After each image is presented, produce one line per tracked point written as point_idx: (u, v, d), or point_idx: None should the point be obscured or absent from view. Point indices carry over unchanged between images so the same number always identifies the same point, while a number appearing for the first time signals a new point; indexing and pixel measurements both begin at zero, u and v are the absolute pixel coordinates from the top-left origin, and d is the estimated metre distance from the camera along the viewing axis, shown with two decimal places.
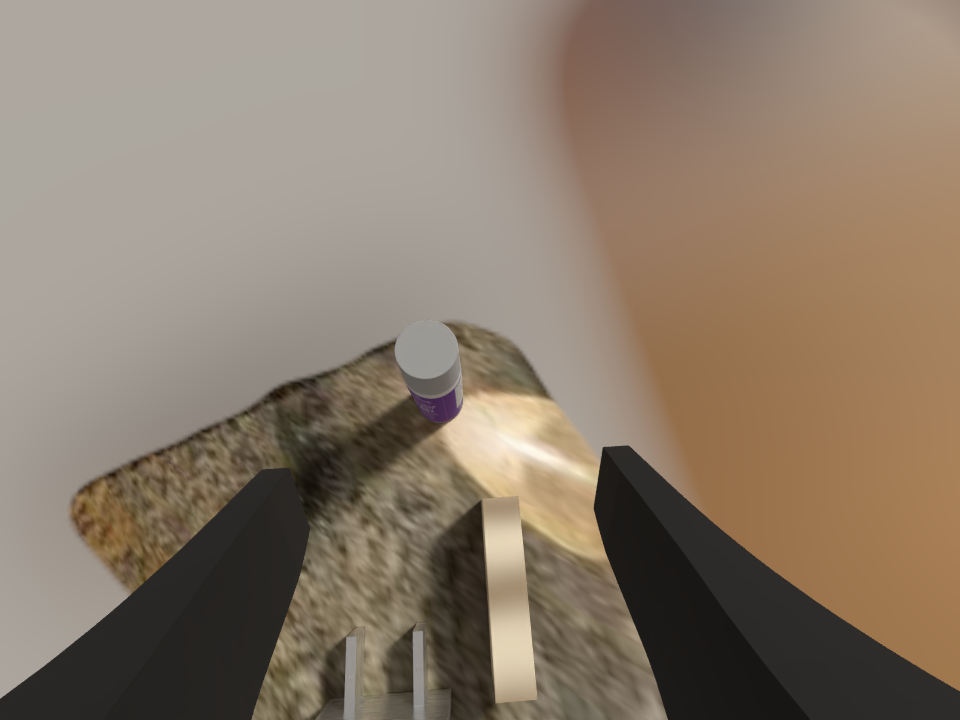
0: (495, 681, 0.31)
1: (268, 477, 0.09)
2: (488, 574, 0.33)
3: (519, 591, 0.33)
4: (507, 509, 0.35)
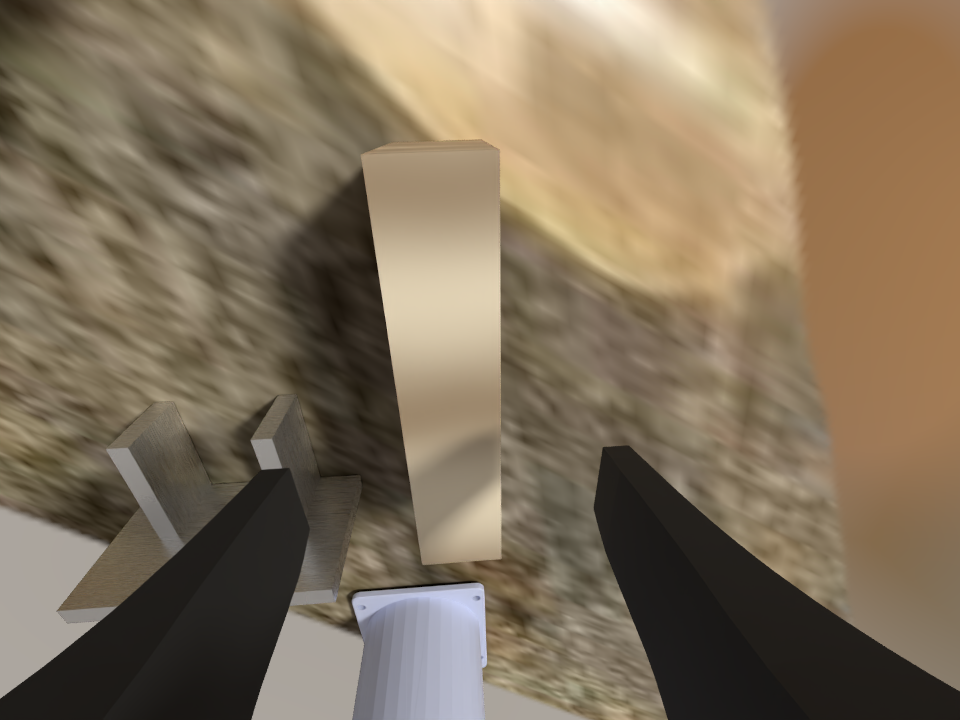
0: (421, 542, 0.15)
1: (268, 477, 0.09)
2: (397, 377, 0.12)
3: (479, 410, 0.13)
4: (458, 199, 0.10)
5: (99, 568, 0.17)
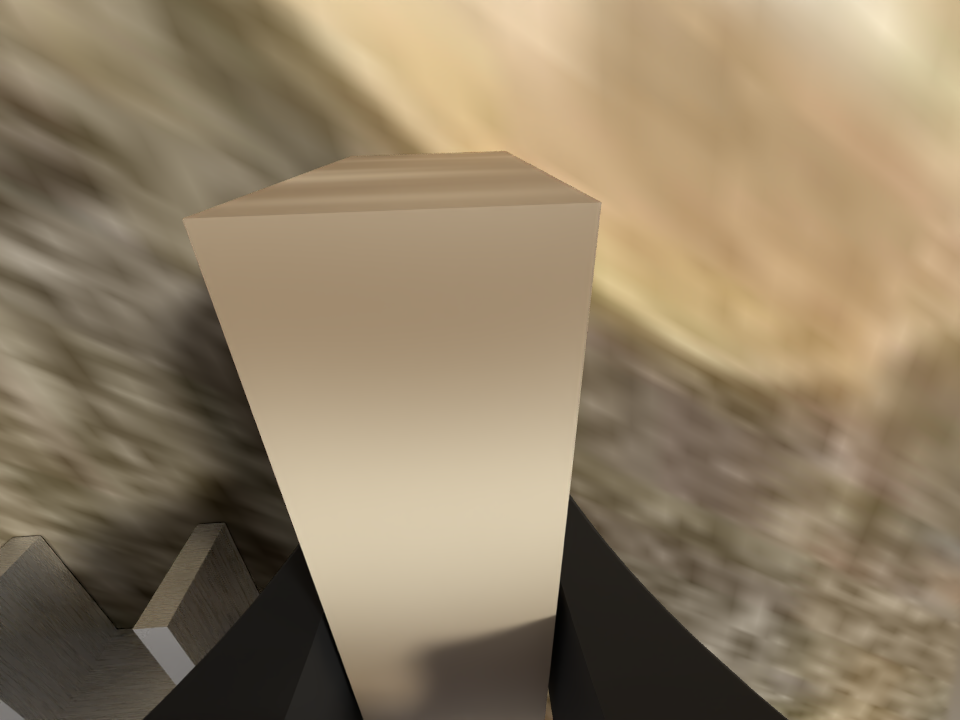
0: None
1: None
2: (343, 645, 0.06)
3: (509, 679, 0.07)
4: (475, 331, 0.04)
5: None
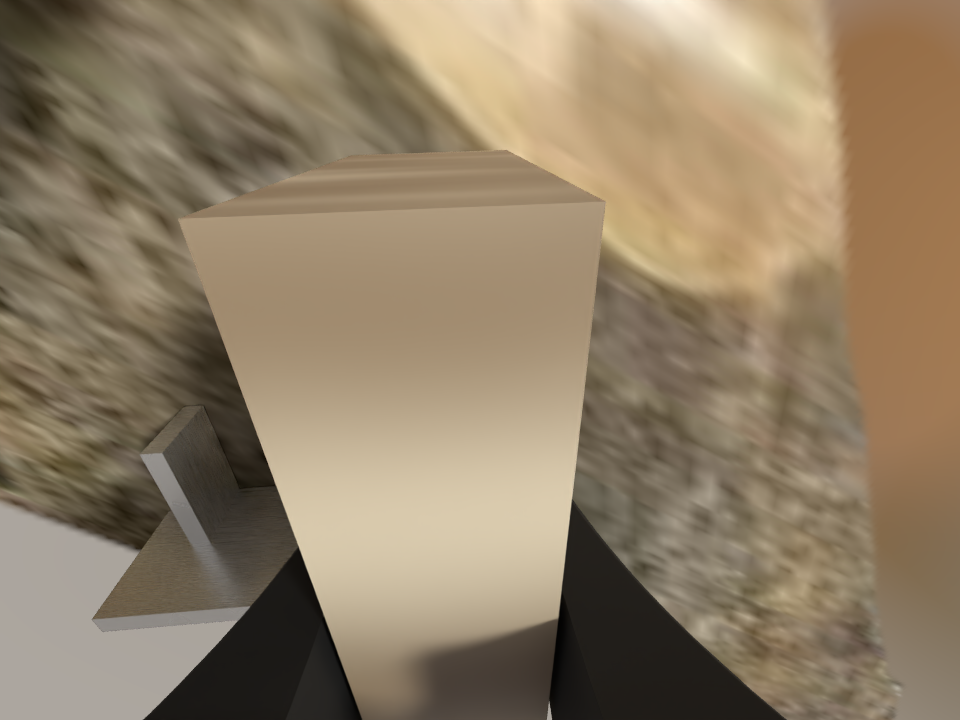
0: None
1: None
2: (344, 649, 0.06)
3: (510, 683, 0.06)
4: (476, 333, 0.04)
5: (132, 575, 0.17)
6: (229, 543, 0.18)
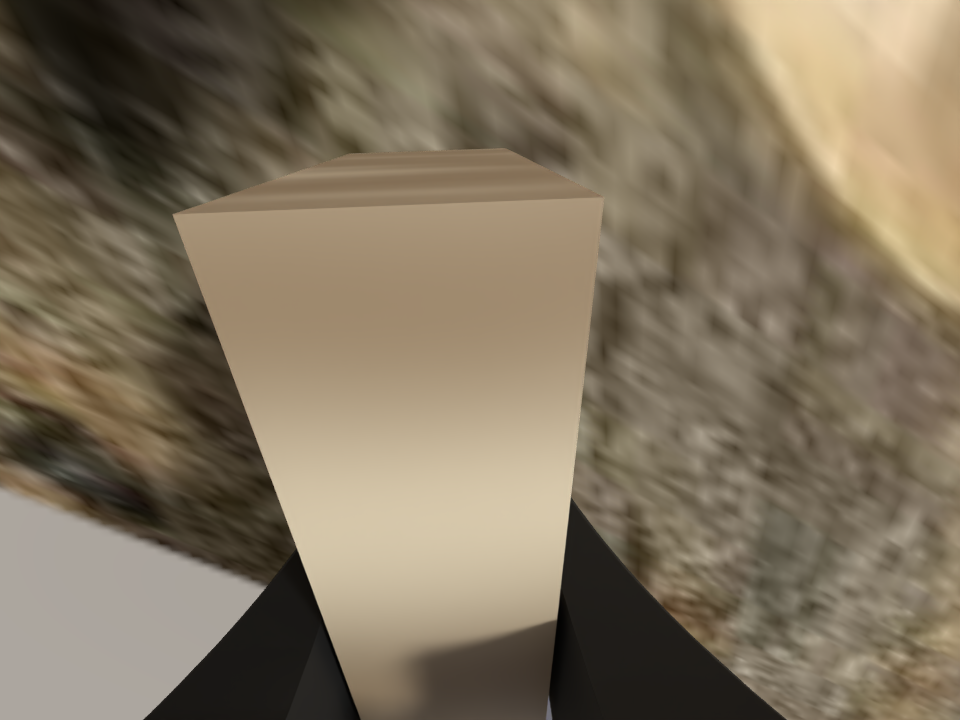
0: None
1: None
2: (342, 649, 0.06)
3: (509, 683, 0.06)
4: (475, 330, 0.03)
5: None
6: None
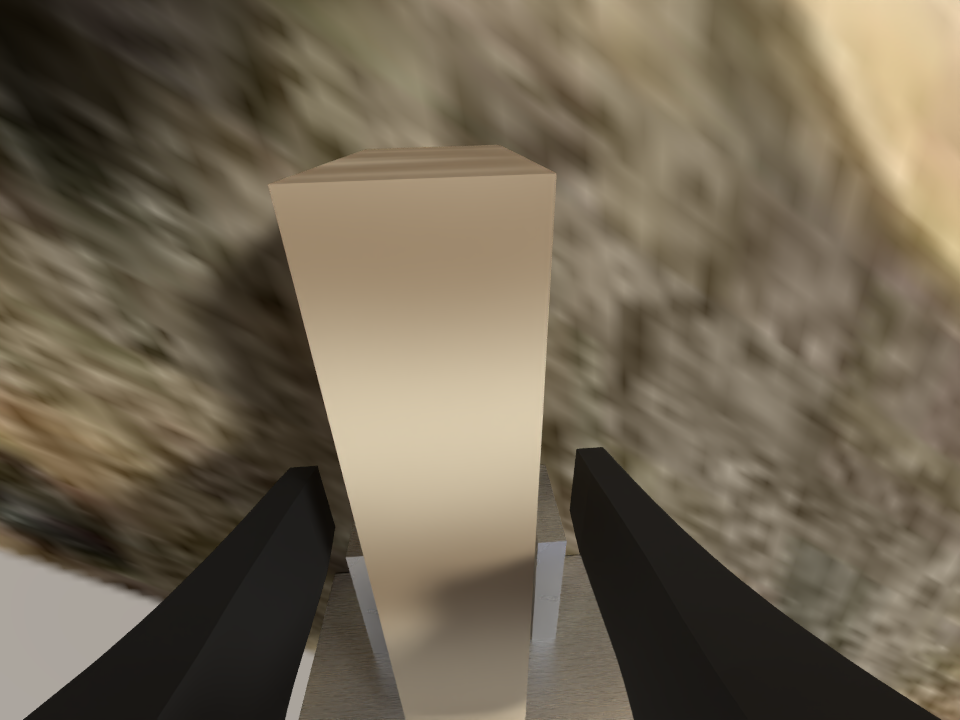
0: None
1: (297, 475, 0.09)
2: (365, 542, 0.07)
3: (500, 580, 0.08)
4: (469, 269, 0.05)
5: (314, 705, 0.13)
6: None
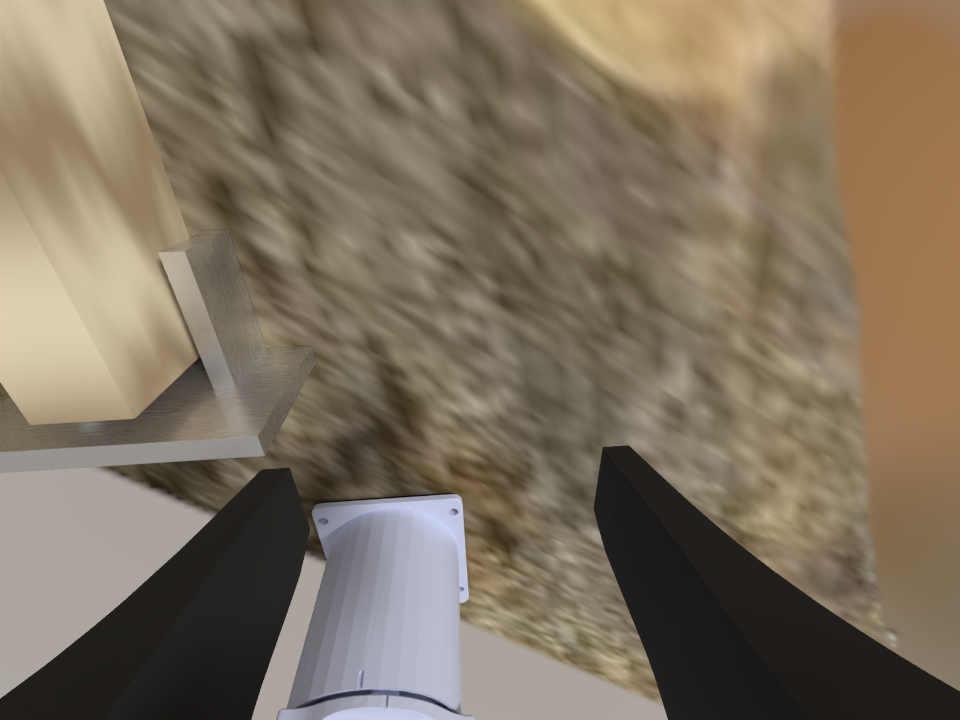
0: (6, 388, 0.12)
1: (268, 477, 0.09)
2: None
3: None
4: None
5: None
6: None
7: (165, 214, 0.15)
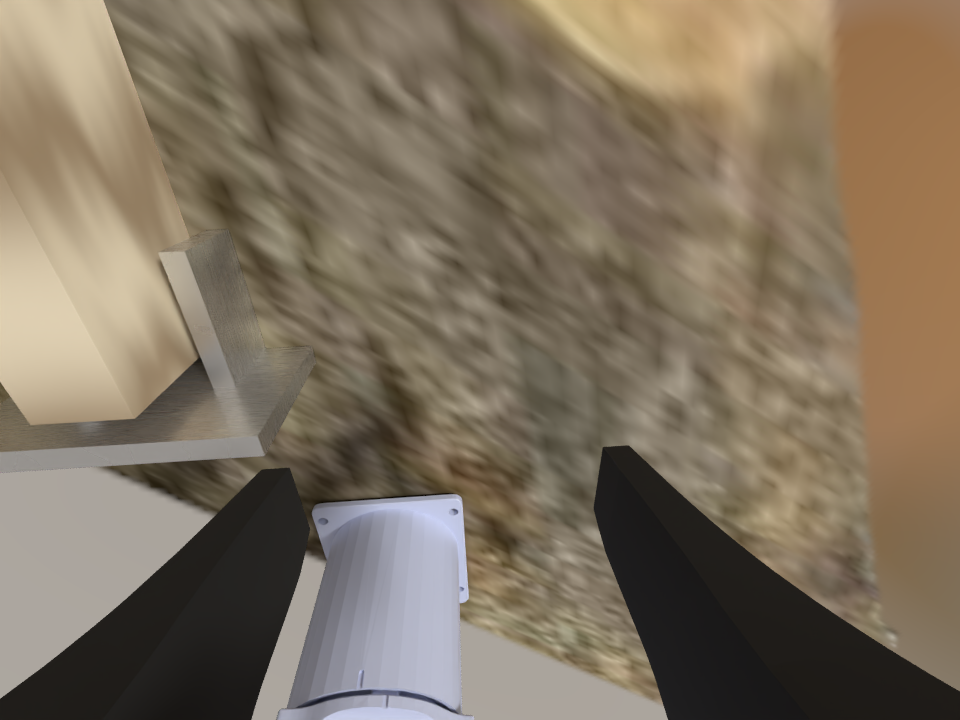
0: (7, 388, 0.12)
1: (268, 477, 0.09)
2: None
3: None
4: None
5: None
6: None
7: (165, 214, 0.15)
